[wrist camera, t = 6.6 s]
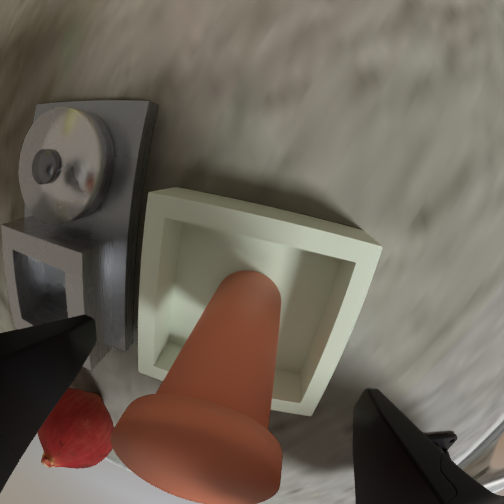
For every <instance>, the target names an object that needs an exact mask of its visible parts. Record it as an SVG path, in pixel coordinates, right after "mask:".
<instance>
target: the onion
mask: <svg viewBox="0 0 504 504" xmlns="http://www.w3.org/2000/svg"><path fill="white" fill-rule="evenodd" d="M113 429H114V426H113V422H112V419H111V416H110V414H109V412H108V410H107V408H106V407H105V405H104V403H103V400H102V398H101V397H100V396H99V395H98V394H97V393H93V392H86V391H83V390H79V389H73V388H68V389H67V390H66V392H65V393H64V395H63V396H62V397H61V399H60V400H59V402H58V403H57V404H56V406H55V407H54V409H53V410H52V412H51V413H50V414H49V416H48V417H47V419H46V420H45V422H44V423H43V425H42V426H41V428H40V429H39V431H38V436H39V439H40V442H41V445H42V447H43V450H44V453H43V456H42V460H41V462H42V463H43V464H44V465H45V466H47V467H48V468H50V467H67V468H87V467H91V466H94V465H96V464H98V463H99V462H100V461H102V460H103V459H104V458H105V457H107V456H108V454H109V453H110V452H111V450H112V449H113V447H112V444H111V433H112V431H113Z"/></svg>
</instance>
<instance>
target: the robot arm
mask: <svg viewBox="0 0 504 504" xmlns="http://www.w3.org/2000/svg"><path fill="white" fill-rule="evenodd" d="M96 341H97V332H96V321H95V319H94V318H93V317H90V316H88V315H85V314H84V315H79V316H75V317H71V318H66V319H62V320H58V321H53V322H49V323H44V324H40V325H36V326H31V327H27V328H22V329H18V330H13V331H8V332H4V333H0V493H1V491H2V489H3V487H4V486H5V484H6V482H7V480H8V479H9V477H10V475H11V474H12V472H13V470H14V469H15V467H16V465H17V464H18V462H19V459H21V457H22V455H23V454H24V452H25V451H26V449H27V447H28V446H29V444H30V443H31V441H32V440H33V438H34V437H35V435H36V434H37V432H38V431H39V429H40V428H41V426H42V425H43V423H44V422H45V420H46V419H47V417H48V416H49V414H50V413H51V412H52V410H53V409H54V407H55V406H56V404H57V403H58V402H59V400H60V399H61V397H62V396H63V395H64V393H65V392H66V390H67V389H68V388H69V386H70V385H71V383H72V382H73V381H74V379H75V378H76V376H77V375H78V373H79V372H80V370H81V368H82V366H83V365H84V363H85V361H86V360H87V358H88V356H89V354H90V353H91V351H92V349H93V348H94V346H95V344H96ZM456 440H457V436H456V434H448V435H437V436H425V435H424V434H423V433H422V432H421V431H420V430H419V429H418V428H417V427H416V426H415V425H414V424H413V423H412V422H411V421H410V420H409V419H408V418H407V417H406V416H405V415H404V414H403V413H402V412H401V411H400V410H399V409H398V408H397V407H396V406H395V405H393V404H392V403H391V402H390V401H389V400H388V399H387V398H386V397H385V396H384V395H383V394H382V393H381V392H380V391H379V390H378V389H373V388H366V389H365V390H364V391H363V393H362V395H361V396H360V398H359V400H358V401H357V403H356V405H355V407H354V412H353V462H354V477H355V496H356V504H504V496H500V495H496V494H494V493H492V492H490V491H489V490H488V489H486V488H485V487H484V486H482V485H481V484H480V483H478V482H477V481H476V480H474V479H473V478H472V477H471V476H469V475H468V474H467V473H466V472H464V471H463V470H462V469H461V468H459V467H458V466H457V465H456V464H455V463H454V462H453V461H452V460H451V458H450V456H449V453H448V451H447V450H448V449H449V448H450V447H451V446H452V444H453V443H454V442H455V441H456Z"/></svg>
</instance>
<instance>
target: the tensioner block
mask: <svg viewBox="0 0 504 504" xmlns="http://www.w3.org/2000/svg"><path fill="white" fill-rule="evenodd" d="M157 109H158V105H157V104H155V103H153V102H150V101H135V100H93V101H71V102H57V103H46V104H37V105H36V109H35V114H34V119H33V125H32V126H31V128H30V129H29V131H28V133H27V135H26V137H25V140H24V142H23V145H22V149H21V153H20V158H19V169H18V171H19V184H20V190H21V193H22V197H23V199H24V202H25V206H24V218H22V219H19V220H15V221H12V222H9V223H5V224H2V225H1V231H2V248H3V260H4V269H5V277H6V284H7V291H8V297H9V302H10V308H11V313H12V317H13V322H14V326H15V328H17V329H22V328H27V327H31V326H36V325H40V324H44V323H49V322H53V321H58V320H62V319H66V318H71V317H75V316H79V315H84V314H85V315H88V316H90V317H93V318H94V319H95V321H96V332H97V341H96V344H95V346H94V348H93V349H92V351H91V353H90V354H89V356H88V358H87V360H86V361H85V363H84V365H83V367H85V368H87V369H89V370H91V371H92V370H93V368H94V367H95V366H96V365H97V364H98V363H99V362H100V361H101V359H102V358H103V357H104V356H105V355H106V354H107V353H108V352H109V351H110V350H111V348H112V347H114V348H116V349H119V350H121V351H124V352H126V351H127V350H128V349H129V347H130V346H131V345H132V344H133V296H134V274H135V258H136V245H137V234H138V224H139V215H140V206H141V199H142V191H143V184H144V178H145V171H146V165H147V159H148V153H149V148H150V143H151V138H152V132H153V128H154V123H155V118H156V114H157Z"/></svg>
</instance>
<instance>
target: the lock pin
mask: <svg viewBox="0 0 504 504" xmlns="http://www.w3.org/2000/svg"><path fill="white" fill-rule="evenodd" d="M280 314H281V295H280V292H279V290H278V288H277V286H276V285H275V283H274V282H273V281H272V280H271V279H269V278H268V277H267V276H265V275H263V274H261V273H259V272H255V271H249V270H244V271H237V272H234V273H232V274H230V275H228V276H227V277H226V278H225V279H223V281H222V282H221V283H220V285H219V286H218V288H217V290H216V291H215V293H214V295H213V296H212V298H211V300H210V302H209V303H208V305H207V307H206V308H205V310H204V312H203V313H202V315H201V317H200V318H199V320H198V322H197V324H196V325H195V327H194V329H193V330H192V332H191V334H190V336H189V337H188V339H187V341H186V342H185V344H184V346H183V348H182V349H181V351H180V353H179V354H178V356H177V358H176V360H175V361H174V363H173V365H172V366H171V368H170V370H169V372H168V373H167V375H166V377H165V379H164V380H163V382H162V384H161V385H160V387H159V389H158V391H157V392H156V394H151V395H146V396H143V397H140V398H138V399H136V400H134V401H133V402H131V404H130V405H129V406H128V407H127V409H126V410H125V412H124V413H123V415H122V417H121V418H120V420H119V421H118V423H117V424H116V426H115V428H114V429H113V431H112V433H111V444H112V447H113V449H114V451H115V453H116V454H117V456H118V457H119V458H120V460H121V461H122V462H123V463H124V464H125V465H126V466H127V467H128V468H129V469H130V470H131V471H132V472H134V473H135V474H136V475H138V476H139V477H140V478H142V479H143V480H145V481H146V482H148V483H150V484H151V485H153V486H155V487H157V488H159V489H161V490H163V491H165V492H168V493H170V494H172V495H175V496H177V497H181V498H184V499H187V500H190V501H194V502H198V503H203V504H256V503H260V502H263V501H265V500H267V499H269V498H271V497H272V496H274V495H275V494H276V493H277V491H278V490H279V487H280V480H281V470H282V458H283V454H282V449H281V446H280V444H279V442H278V441H277V439H276V438H275V437H274V436H273V434H272V433H271V432H270V431H268V427H269V419H270V411H271V402H272V394H273V385H274V375H275V366H276V356H277V346H278V336H279V325H280Z"/></svg>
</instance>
